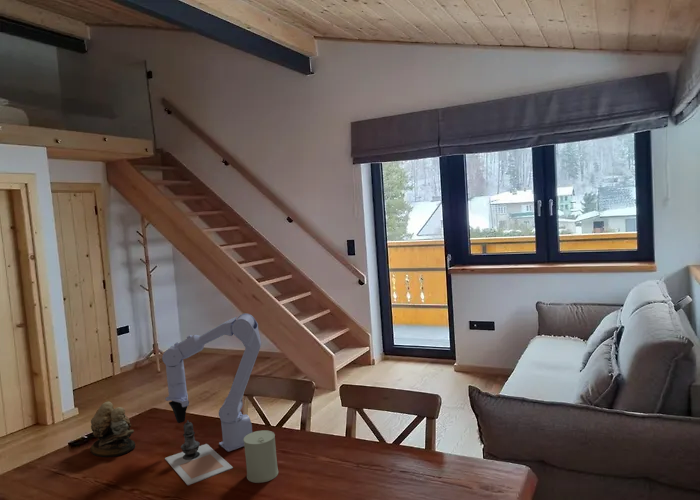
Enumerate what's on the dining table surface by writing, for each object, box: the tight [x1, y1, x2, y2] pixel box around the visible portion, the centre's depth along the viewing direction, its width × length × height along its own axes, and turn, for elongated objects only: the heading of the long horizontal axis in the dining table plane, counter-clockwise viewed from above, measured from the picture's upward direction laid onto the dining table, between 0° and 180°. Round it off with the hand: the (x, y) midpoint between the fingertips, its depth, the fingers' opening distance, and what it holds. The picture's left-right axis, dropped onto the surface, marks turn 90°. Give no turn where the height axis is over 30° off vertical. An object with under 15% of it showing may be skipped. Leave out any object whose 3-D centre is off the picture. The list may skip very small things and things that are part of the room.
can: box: [243, 429, 279, 484], centre depth 151 cm, size 9×9×12 cm
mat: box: [164, 443, 234, 486], centre depth 162 cm, size 14×22×1 cm, turn 36°
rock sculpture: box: [89, 401, 136, 458], centre depth 177 cm, size 18×12×17 cm, turn 67°
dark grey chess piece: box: [180, 419, 201, 460], centre depth 166 cm, size 6×6×12 cm
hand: (180, 421), depth 172 cm, fingers closed
